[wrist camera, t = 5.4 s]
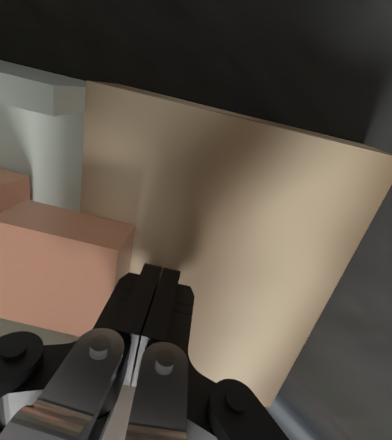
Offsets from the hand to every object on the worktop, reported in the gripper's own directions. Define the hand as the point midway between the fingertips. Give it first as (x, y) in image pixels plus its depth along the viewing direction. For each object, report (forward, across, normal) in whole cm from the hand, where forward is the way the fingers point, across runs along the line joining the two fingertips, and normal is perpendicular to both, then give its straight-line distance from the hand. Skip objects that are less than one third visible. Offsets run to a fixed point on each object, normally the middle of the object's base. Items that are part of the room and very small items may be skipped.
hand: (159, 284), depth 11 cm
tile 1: (+1, +4, 0) cm, 4 cm away
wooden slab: (+4, -2, 0) cm, 4 cm away
